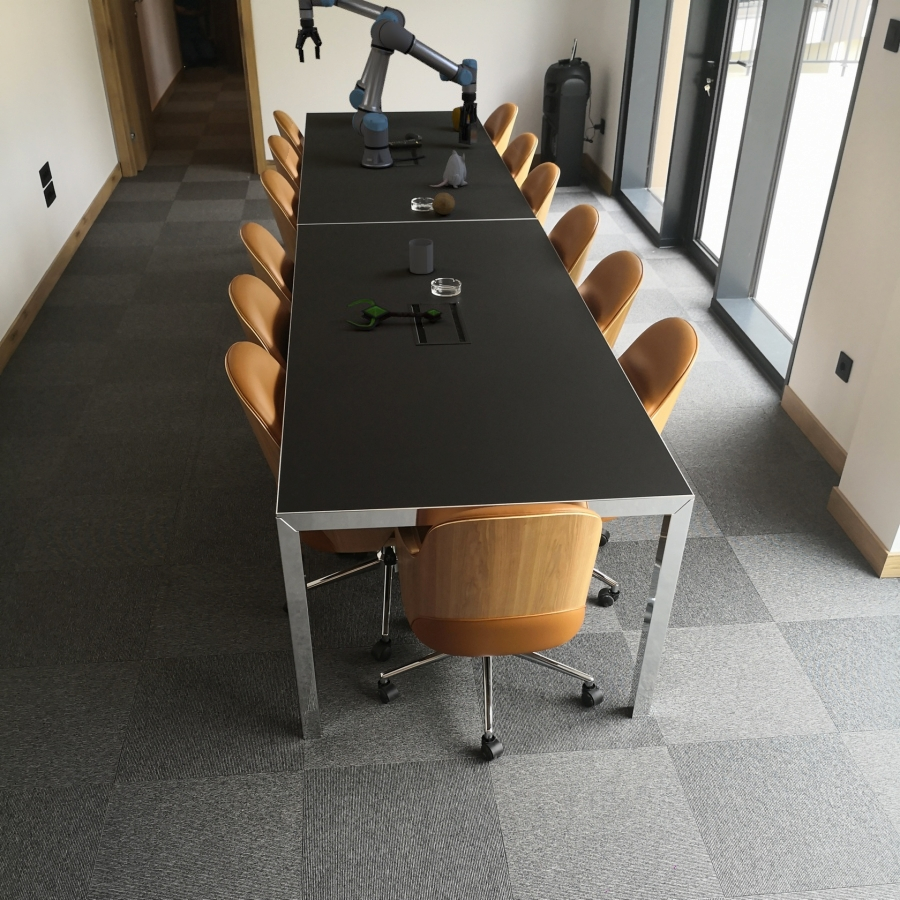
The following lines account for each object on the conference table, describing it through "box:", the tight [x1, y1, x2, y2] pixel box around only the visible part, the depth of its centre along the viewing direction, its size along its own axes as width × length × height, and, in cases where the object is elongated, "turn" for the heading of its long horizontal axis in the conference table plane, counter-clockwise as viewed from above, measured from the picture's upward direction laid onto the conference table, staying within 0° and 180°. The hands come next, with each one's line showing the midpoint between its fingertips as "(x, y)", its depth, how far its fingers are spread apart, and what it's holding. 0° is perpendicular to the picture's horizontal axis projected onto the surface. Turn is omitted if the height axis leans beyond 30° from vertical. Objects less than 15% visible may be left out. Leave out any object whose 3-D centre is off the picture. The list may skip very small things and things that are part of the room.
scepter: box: [345, 298, 443, 331], centre depth 269 cm, size 6×13×30 cm
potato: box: [431, 192, 456, 216], centre depth 360 cm, size 10×14×8 cm
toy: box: [428, 149, 468, 189], centre depth 390 cm, size 9×24×15 cm, turn 137°
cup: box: [408, 237, 434, 275], centre depth 305 cm, size 8×8×10 cm
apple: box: [451, 106, 470, 132], centre depth 487 cm, size 11×11×13 cm
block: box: [458, 120, 478, 146], centre depth 453 cm, size 7×7×11 cm
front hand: (467, 138), depth 454 cm, fingers closed on block, 7 cm apart
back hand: (310, 60), depth 483 cm, fingers open, 13 cm apart
